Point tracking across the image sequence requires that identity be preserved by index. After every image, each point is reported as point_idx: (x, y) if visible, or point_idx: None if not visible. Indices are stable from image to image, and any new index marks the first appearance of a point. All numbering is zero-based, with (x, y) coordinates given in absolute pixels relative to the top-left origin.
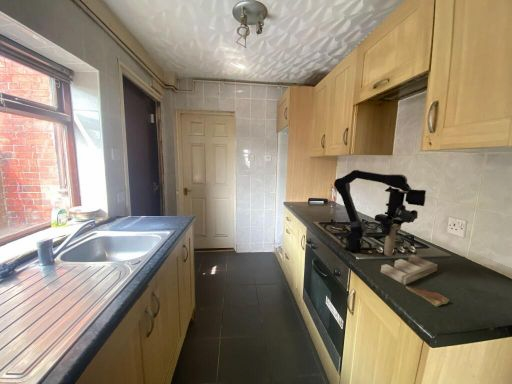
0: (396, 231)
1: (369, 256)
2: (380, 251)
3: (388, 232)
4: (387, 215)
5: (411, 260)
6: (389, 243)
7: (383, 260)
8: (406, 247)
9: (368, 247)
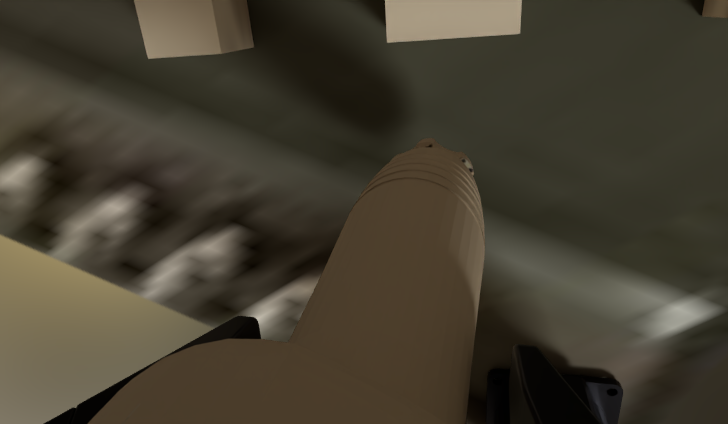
0: None
1: (521, 281)
2: None
3: (593, 417)
4: None
5: (233, 16)
6: (476, 229)
7: None
8: (24, 234)
9: None
